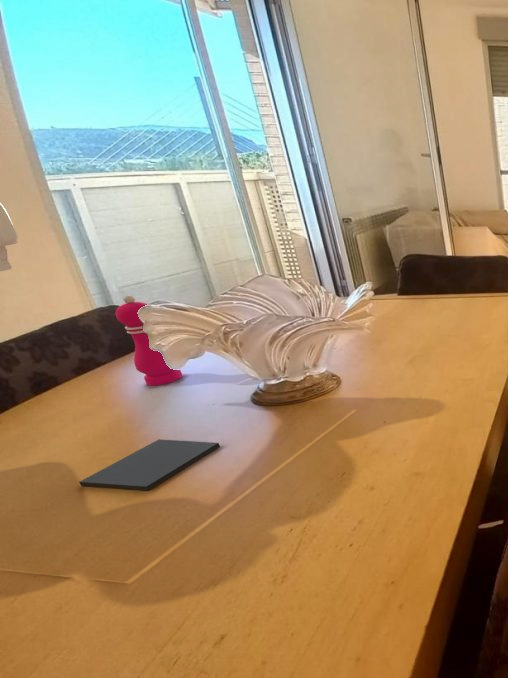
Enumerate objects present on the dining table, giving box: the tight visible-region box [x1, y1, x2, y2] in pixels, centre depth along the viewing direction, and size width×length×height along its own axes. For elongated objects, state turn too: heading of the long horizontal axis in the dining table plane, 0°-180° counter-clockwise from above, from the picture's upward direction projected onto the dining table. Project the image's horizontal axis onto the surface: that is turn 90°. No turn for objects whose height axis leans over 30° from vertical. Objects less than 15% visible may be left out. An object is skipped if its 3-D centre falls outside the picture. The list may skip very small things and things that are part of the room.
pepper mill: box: [115, 294, 183, 387], centre depth 105 cm, size 7×7×20 cm
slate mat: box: [78, 438, 221, 492], centre depth 77 cm, size 12×12×1 cm
